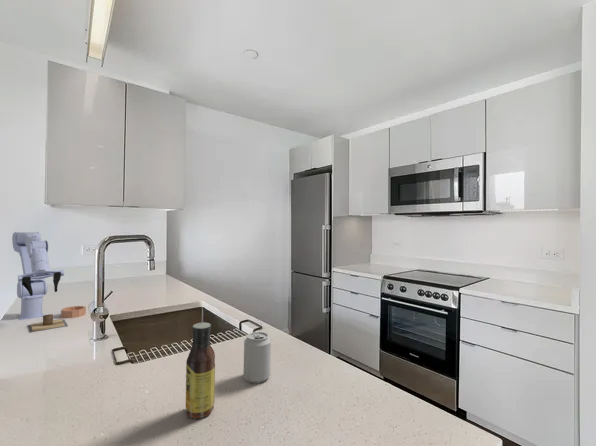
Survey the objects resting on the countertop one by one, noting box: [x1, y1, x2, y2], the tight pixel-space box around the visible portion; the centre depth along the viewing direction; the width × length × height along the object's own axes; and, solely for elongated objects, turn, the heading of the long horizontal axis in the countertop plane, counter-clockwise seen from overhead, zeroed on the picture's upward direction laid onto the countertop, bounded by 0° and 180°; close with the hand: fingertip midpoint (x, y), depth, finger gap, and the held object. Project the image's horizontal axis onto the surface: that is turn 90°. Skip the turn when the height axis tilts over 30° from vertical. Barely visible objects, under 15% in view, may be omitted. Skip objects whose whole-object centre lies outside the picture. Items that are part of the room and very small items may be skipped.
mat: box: [26, 319, 69, 334], centre depth 123 cm, size 12×12×1 cm
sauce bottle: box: [185, 322, 216, 419], centre depth 68 cm, size 7×6×20 cm
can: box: [243, 331, 272, 384], centre depth 84 cm, size 8×8×12 cm
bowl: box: [60, 305, 87, 319], centre depth 138 cm, size 9×9×4 cm
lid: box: [30, 313, 65, 333], centre depth 123 cm, size 10×10×4 cm
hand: (44, 292), depth 121 cm, fingers open, 7 cm apart
